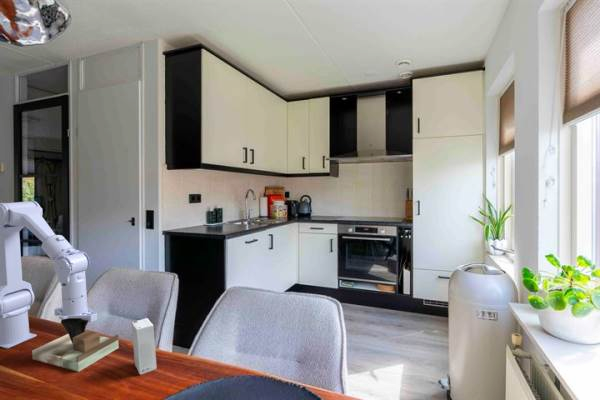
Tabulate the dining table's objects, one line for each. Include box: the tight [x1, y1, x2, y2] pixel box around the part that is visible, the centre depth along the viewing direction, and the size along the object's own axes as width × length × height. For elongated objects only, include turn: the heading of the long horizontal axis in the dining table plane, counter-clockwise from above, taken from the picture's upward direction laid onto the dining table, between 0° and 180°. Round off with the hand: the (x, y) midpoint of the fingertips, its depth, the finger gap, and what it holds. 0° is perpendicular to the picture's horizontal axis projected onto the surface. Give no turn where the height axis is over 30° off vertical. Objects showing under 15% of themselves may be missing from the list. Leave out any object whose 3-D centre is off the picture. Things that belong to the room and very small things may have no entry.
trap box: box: [31, 333, 120, 372], centre depth 90 cm, size 18×12×4 cm, turn 71°
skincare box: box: [131, 317, 157, 375], centre depth 83 cm, size 6×4×12 cm
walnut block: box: [73, 330, 101, 352], centre depth 89 cm, size 4×4×4 cm
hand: (77, 342), depth 90 cm, fingers closed
